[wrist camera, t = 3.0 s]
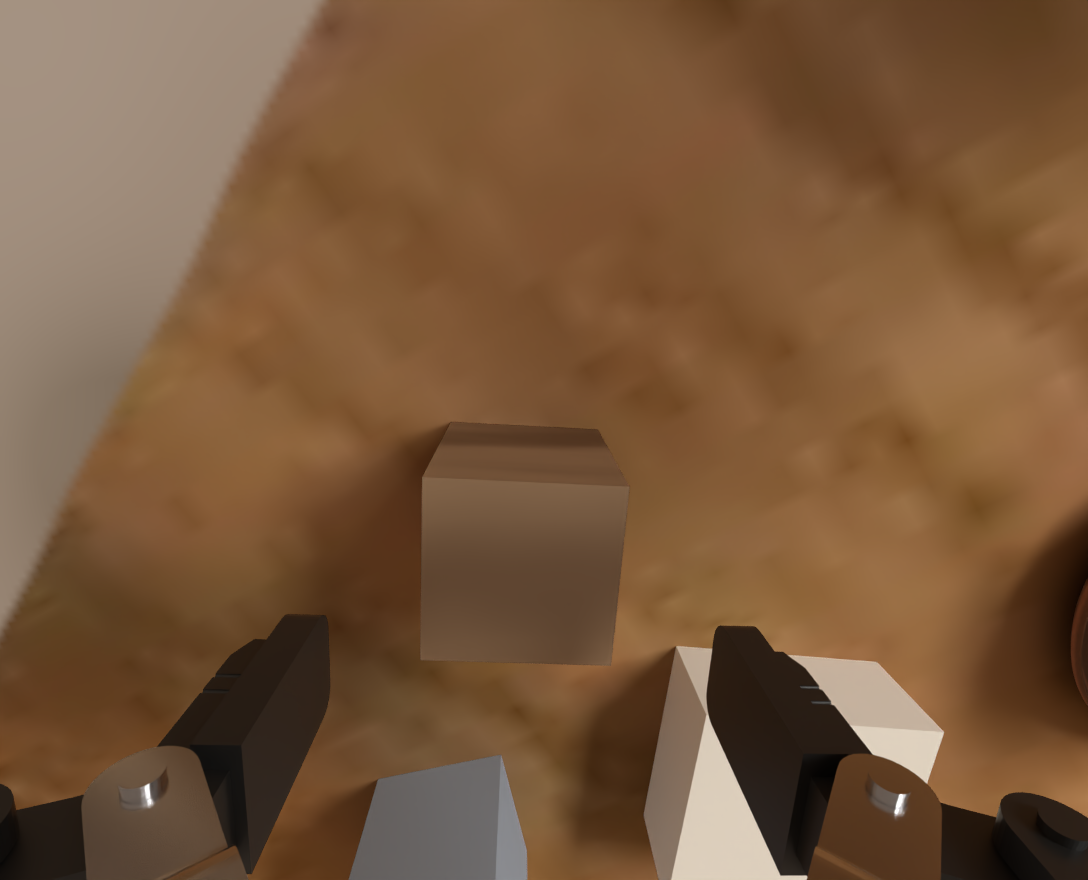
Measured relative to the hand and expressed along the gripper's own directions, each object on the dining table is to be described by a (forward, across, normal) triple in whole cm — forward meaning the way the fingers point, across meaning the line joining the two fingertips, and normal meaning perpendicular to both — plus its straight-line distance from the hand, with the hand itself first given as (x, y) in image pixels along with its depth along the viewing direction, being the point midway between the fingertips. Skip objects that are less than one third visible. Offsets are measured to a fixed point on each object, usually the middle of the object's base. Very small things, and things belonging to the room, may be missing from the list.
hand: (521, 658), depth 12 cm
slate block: (+9, +2, +14) cm, 16 cm away
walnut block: (+9, 0, 0) cm, 9 cm away
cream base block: (+9, -10, +10) cm, 17 cm away
